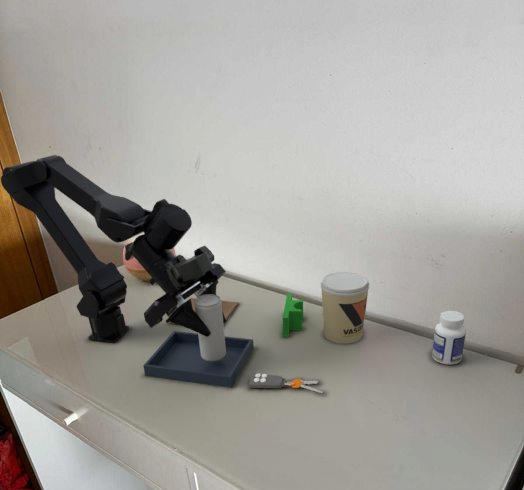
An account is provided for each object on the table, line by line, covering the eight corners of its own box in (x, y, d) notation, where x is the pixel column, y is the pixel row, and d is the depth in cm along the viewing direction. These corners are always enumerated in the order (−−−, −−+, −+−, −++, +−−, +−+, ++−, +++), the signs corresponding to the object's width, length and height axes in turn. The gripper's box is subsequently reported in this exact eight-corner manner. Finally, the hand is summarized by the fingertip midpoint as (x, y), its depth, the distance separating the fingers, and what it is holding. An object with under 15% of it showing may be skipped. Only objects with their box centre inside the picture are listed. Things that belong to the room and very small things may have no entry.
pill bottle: (460, 351, 94) (467, 310, 90) (462, 366, 90) (469, 324, 85) (431, 349, 96) (436, 307, 91) (431, 363, 91) (437, 321, 87)
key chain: (248, 390, 87) (247, 383, 87) (252, 377, 90) (251, 371, 90) (322, 394, 85) (322, 387, 84) (324, 381, 88) (324, 375, 87)
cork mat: (169, 323, 110) (169, 321, 110) (191, 300, 120) (191, 298, 120) (220, 328, 107) (219, 326, 107) (238, 304, 117) (238, 302, 116)
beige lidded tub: (344, 350, 97) (346, 295, 91) (310, 333, 103) (310, 280, 97) (375, 334, 102) (379, 280, 96) (341, 318, 108) (343, 267, 102)
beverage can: (196, 356, 94) (188, 300, 88) (215, 346, 97) (209, 291, 91) (212, 366, 91) (205, 308, 85) (231, 355, 94) (226, 299, 88)
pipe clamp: (301, 337, 102) (301, 318, 100) (283, 337, 103) (282, 318, 100) (304, 311, 112) (303, 293, 109) (287, 311, 112) (286, 293, 110)
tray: (145, 375, 93) (143, 365, 92) (175, 340, 104) (173, 330, 103) (231, 387, 88) (230, 377, 87) (253, 349, 99) (253, 339, 98)
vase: (165, 263, 142) (155, 201, 133) (187, 278, 132) (178, 212, 123) (119, 276, 135) (106, 212, 126) (139, 292, 125) (125, 224, 116)
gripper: (146, 256, 78) (211, 332, 78) (212, 221, 91) (267, 286, 92) (117, 292, 85) (177, 361, 86) (183, 255, 99) (234, 315, 100)
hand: (217, 329), depth 91 cm, fingers closed on beverage can, 5 cm apart
